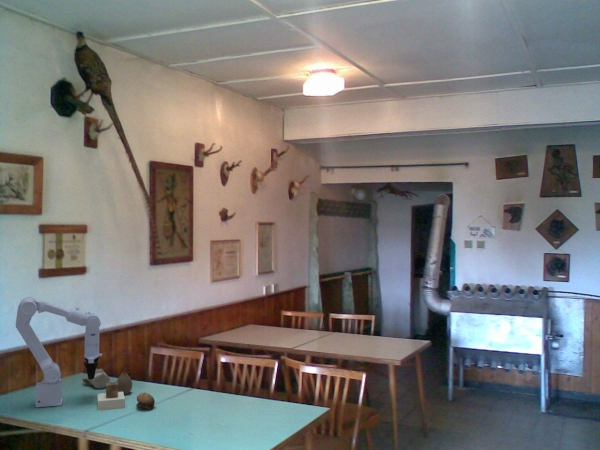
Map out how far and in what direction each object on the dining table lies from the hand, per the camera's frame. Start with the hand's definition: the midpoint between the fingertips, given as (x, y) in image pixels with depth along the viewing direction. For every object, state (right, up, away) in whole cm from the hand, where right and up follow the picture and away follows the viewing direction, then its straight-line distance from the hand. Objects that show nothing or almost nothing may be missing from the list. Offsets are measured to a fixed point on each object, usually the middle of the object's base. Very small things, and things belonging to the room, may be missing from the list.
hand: (91, 376), depth 240 cm
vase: (+11, -10, +9) cm, 17 cm away
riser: (+10, -10, -7) cm, 16 cm away
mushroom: (+25, -10, -10) cm, 29 cm away
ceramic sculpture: (-4, -10, +20) cm, 22 cm away
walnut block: (+11, -6, -7) cm, 14 cm away
